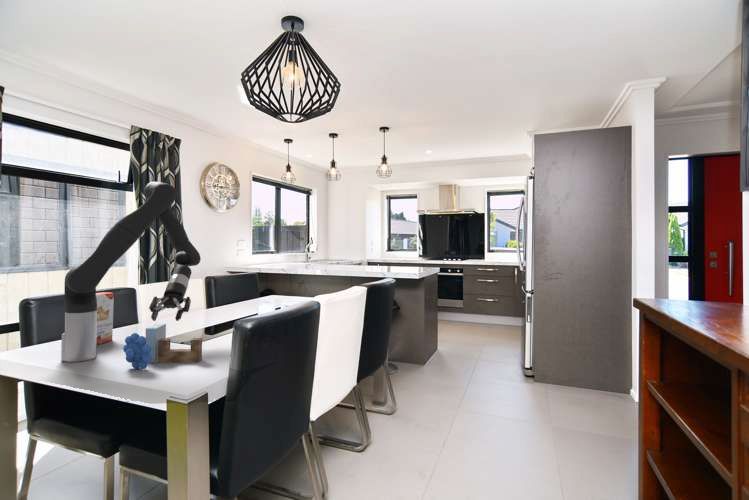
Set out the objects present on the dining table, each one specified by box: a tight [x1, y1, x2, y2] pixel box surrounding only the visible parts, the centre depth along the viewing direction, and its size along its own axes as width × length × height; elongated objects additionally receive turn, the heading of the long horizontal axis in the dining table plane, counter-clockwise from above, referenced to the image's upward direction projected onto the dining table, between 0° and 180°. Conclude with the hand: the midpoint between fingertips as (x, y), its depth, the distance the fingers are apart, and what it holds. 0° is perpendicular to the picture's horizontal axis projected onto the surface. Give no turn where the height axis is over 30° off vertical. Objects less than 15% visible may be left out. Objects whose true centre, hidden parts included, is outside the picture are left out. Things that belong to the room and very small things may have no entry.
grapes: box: [122, 332, 152, 370], centre depth 128 cm, size 12×7×12 cm, turn 72°
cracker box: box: [96, 291, 115, 345], centre depth 160 cm, size 14×6×21 cm, turn 168°
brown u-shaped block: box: [157, 337, 203, 364], centre depth 139 cm, size 14×3×8 cm, turn 97°
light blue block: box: [145, 323, 167, 363], centre depth 141 cm, size 4×8×12 cm, turn 7°
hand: (165, 319), depth 149 cm, fingers open, 8 cm apart
